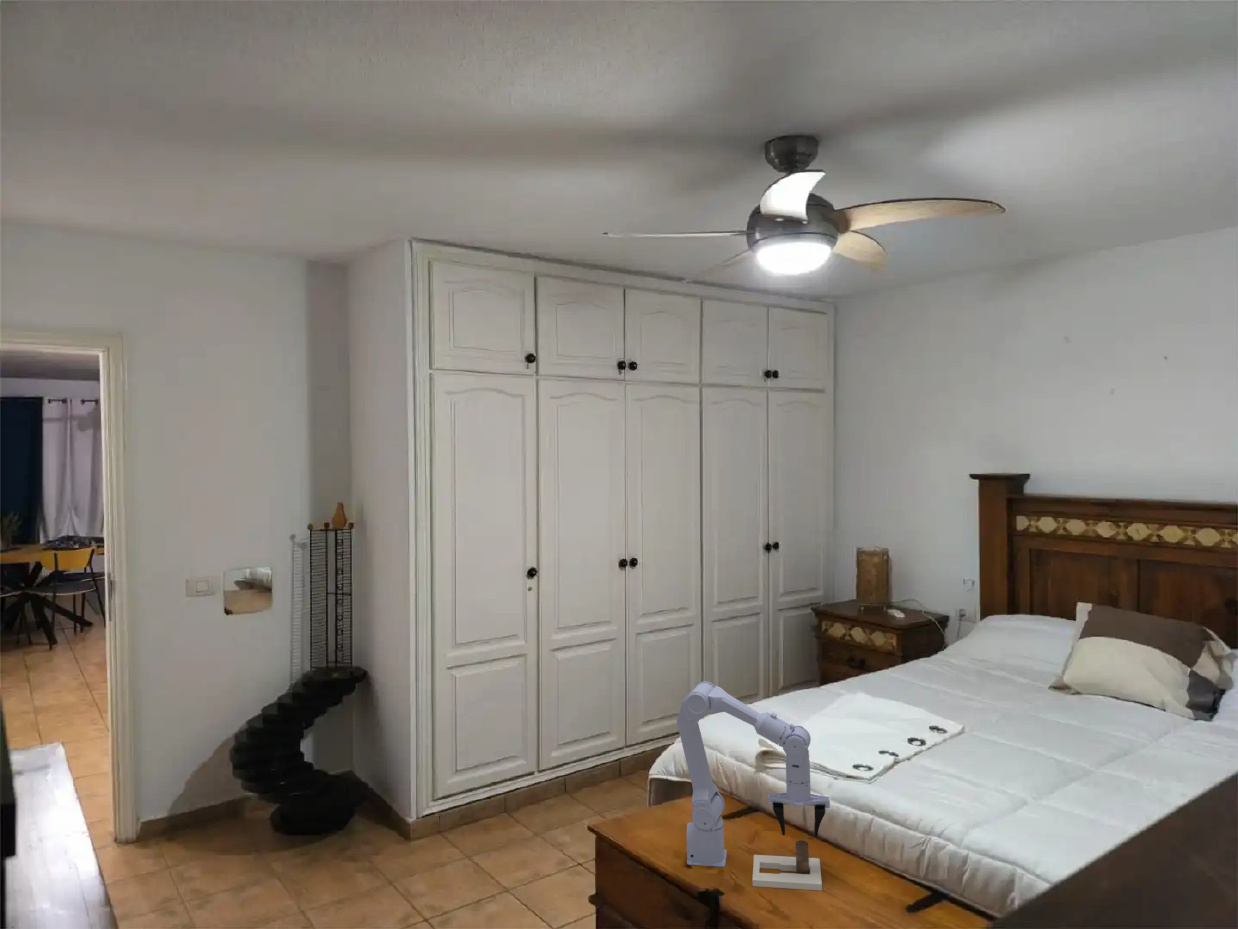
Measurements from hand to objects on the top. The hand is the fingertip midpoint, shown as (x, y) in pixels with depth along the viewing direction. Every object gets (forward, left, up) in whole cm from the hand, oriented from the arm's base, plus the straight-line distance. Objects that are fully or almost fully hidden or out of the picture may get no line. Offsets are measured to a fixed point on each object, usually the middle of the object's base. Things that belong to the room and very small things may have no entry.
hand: (799, 834), depth 203 cm
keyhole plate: (-3, -2, -9) cm, 10 cm away
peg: (0, -2, -9) cm, 10 cm away
